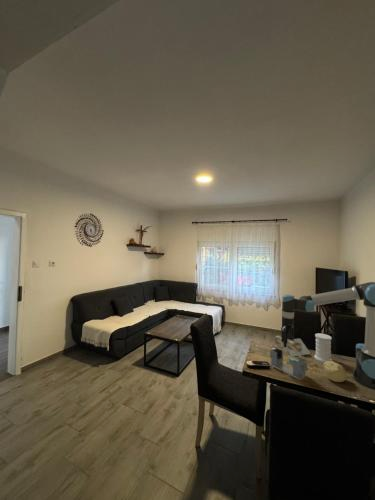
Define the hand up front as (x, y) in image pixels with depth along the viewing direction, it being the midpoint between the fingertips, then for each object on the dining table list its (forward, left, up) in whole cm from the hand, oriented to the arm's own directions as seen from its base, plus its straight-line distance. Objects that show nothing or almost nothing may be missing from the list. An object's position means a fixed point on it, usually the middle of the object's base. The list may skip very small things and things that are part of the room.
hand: (287, 350), depth 147 cm
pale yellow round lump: (-23, -16, -14) cm, 31 cm away
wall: (+10, -32, -14) cm, 36 cm away
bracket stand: (0, 0, -14) cm, 14 cm away
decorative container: (-7, -39, -14) cm, 42 cm away
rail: (0, 0, +3) cm, 3 cm away
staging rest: (0, -13, -14) cm, 19 cm away
